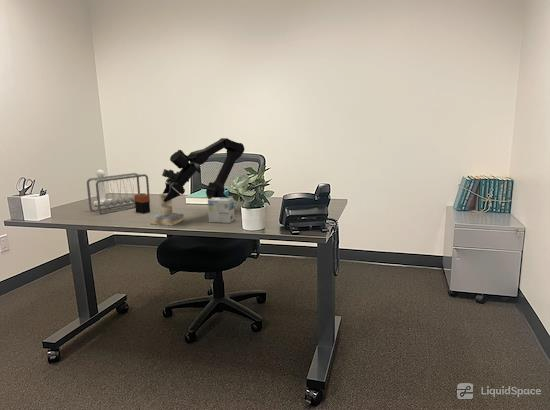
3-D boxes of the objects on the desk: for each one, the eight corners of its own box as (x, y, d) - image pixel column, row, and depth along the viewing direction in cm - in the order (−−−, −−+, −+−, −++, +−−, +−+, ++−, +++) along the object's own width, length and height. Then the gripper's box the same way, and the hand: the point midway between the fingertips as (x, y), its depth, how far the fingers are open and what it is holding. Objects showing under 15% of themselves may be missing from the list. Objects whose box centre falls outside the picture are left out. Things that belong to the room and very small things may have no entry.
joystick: (110, 202, 240) (106, 168, 236) (117, 203, 236) (114, 169, 232) (92, 205, 231) (88, 170, 227) (99, 207, 227) (96, 171, 223)
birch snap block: (171, 213, 193) (169, 193, 191) (172, 215, 189) (171, 194, 187) (161, 214, 192) (159, 193, 190) (162, 216, 187) (160, 195, 185)
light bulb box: (234, 219, 194) (234, 197, 192) (230, 223, 187) (229, 200, 185) (213, 218, 196) (212, 196, 194) (208, 222, 190) (207, 199, 188)
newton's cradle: (140, 203, 237) (137, 172, 233) (150, 205, 231) (148, 173, 227) (89, 212, 214) (85, 178, 211) (99, 215, 208) (95, 180, 204)
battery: (143, 213, 209) (142, 194, 207) (135, 212, 213) (133, 193, 211) (150, 212, 213) (149, 193, 211) (142, 210, 217) (140, 192, 214)
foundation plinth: (183, 220, 195) (183, 213, 194) (171, 225, 184) (171, 218, 184) (163, 218, 198) (163, 212, 197) (150, 224, 187) (149, 217, 187)
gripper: (168, 161, 195) (146, 185, 193) (175, 164, 179) (151, 191, 177) (186, 176, 200) (164, 200, 198) (194, 181, 183) (171, 207, 181)
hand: (162, 199), depth 188 cm, fingers open, 9 cm apart
